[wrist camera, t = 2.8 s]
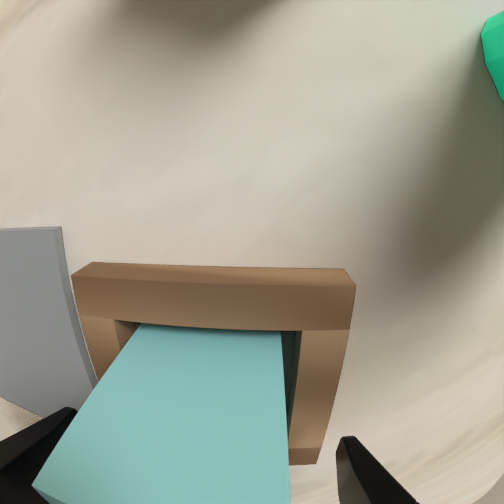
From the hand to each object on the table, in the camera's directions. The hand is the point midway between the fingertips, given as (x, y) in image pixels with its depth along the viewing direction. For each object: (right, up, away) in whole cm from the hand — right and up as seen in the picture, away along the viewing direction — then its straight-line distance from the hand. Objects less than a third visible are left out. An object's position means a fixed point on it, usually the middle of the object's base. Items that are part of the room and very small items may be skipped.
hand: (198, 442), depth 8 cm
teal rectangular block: (0, +1, +3) cm, 4 cm away
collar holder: (0, +1, +3) cm, 4 cm away
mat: (-11, +1, +4) cm, 12 cm away
